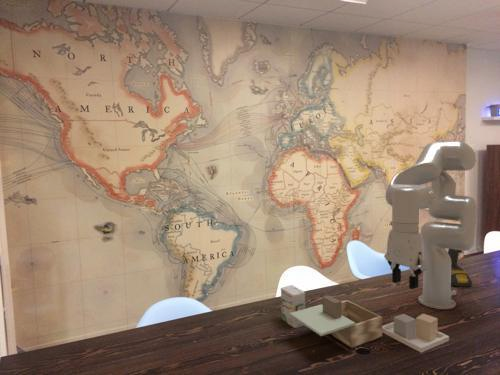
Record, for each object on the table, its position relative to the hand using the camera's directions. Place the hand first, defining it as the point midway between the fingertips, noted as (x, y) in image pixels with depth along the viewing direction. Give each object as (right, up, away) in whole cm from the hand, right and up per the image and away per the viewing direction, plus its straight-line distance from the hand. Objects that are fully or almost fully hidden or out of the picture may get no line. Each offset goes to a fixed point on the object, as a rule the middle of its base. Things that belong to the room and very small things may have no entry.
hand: (404, 284), depth 109 cm
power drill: (+44, -13, +46) cm, 65 cm away
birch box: (-16, -17, +6) cm, 24 cm away
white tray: (+3, -17, +2) cm, 18 cm away
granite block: (+1, -17, +1) cm, 17 cm away
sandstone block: (+7, -17, +1) cm, 18 cm away
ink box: (-33, -18, +15) cm, 40 cm away
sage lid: (-26, -11, 0) cm, 28 cm away
